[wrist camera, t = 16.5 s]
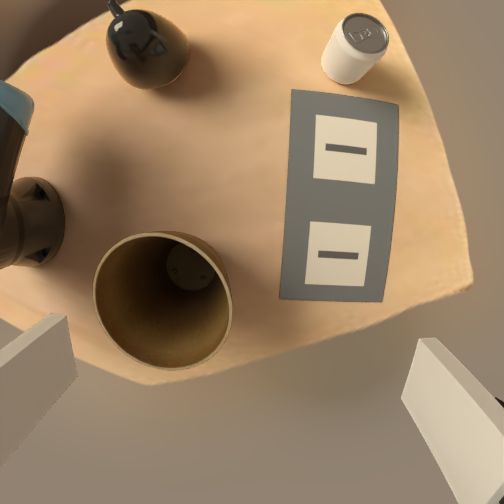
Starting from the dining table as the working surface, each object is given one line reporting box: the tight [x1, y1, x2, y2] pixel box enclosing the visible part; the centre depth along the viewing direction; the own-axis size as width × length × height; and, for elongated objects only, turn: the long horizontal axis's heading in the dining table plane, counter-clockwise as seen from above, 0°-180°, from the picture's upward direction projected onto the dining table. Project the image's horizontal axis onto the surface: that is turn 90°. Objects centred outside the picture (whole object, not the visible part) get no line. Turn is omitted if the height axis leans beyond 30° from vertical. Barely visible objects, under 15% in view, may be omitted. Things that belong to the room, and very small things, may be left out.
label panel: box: [279, 89, 398, 302], centre depth 43 cm, size 16×30×1 cm, turn 177°
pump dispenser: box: [106, 0, 190, 90], centre depth 32 cm, size 10×10×15 cm
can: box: [321, 13, 389, 84], centre depth 33 cm, size 6×6×12 cm
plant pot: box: [93, 231, 233, 370], centre depth 38 cm, size 15×15×16 cm
